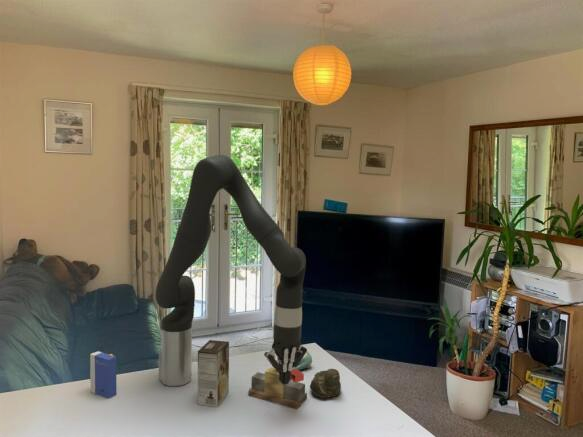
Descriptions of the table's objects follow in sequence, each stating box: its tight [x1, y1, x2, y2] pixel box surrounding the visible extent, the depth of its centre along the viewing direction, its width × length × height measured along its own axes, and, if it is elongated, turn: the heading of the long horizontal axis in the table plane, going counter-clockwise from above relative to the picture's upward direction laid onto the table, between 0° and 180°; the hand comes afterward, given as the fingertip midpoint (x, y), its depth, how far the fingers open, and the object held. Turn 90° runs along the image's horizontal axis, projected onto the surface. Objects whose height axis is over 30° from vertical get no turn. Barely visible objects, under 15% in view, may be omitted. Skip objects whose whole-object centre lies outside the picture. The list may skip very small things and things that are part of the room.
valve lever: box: [275, 359, 305, 383], centre depth 127 cm, size 12×3×3 cm, turn 31°
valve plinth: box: [247, 365, 308, 410], centre depth 132 cm, size 16×7×8 cm, turn 65°
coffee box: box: [197, 339, 230, 408], centre depth 130 cm, size 9×6×16 cm
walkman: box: [89, 351, 117, 399], centre depth 131 cm, size 8×3×12 cm, turn 63°
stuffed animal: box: [293, 350, 313, 371], centre depth 153 cm, size 11×7×12 cm
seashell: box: [309, 368, 342, 399], centre depth 136 cm, size 11×12×10 cm
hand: (284, 383), depth 122 cm, fingers closed
